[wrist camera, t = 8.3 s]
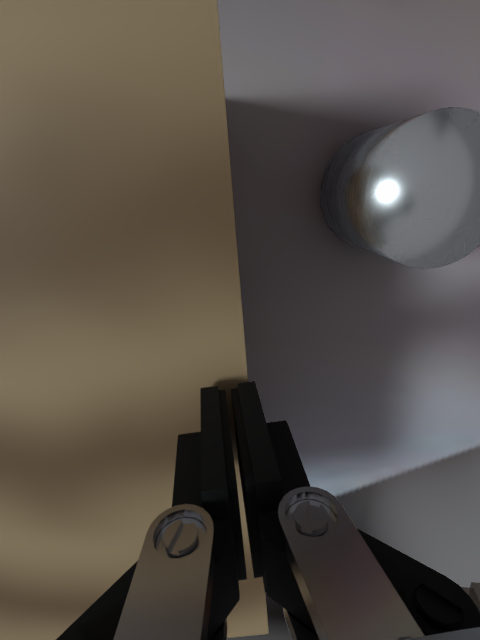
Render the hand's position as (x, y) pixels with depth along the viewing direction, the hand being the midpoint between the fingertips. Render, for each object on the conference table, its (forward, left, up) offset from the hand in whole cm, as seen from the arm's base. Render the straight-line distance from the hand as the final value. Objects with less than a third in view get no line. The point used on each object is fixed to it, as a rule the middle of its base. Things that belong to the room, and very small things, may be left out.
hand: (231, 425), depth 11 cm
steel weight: (-6, +9, -11) cm, 16 cm away
